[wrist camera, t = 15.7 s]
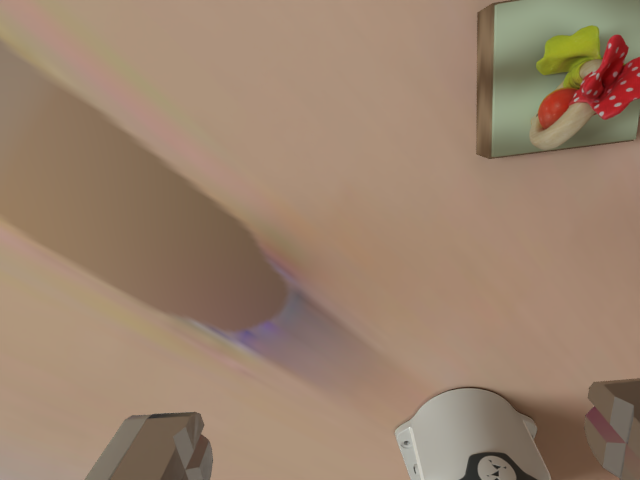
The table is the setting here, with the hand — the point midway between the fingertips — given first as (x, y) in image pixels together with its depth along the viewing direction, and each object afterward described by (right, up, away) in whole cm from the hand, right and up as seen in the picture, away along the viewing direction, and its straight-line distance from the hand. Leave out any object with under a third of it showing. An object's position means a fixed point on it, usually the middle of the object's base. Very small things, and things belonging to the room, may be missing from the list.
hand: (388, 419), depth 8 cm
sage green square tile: (+20, +20, +28) cm, 40 cm away
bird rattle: (+19, +17, +25) cm, 36 cm away
